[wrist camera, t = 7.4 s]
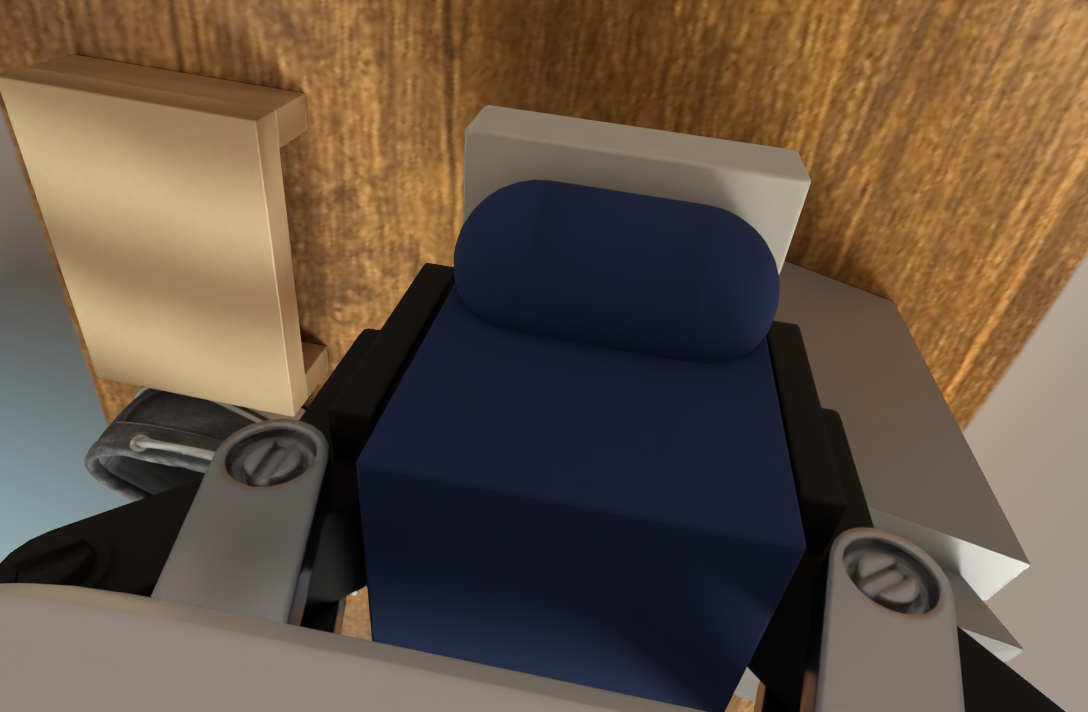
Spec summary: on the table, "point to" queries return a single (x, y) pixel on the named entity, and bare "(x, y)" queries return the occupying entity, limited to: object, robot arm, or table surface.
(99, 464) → the boat shoe
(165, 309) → the shoe shelf
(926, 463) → the perfume bottle
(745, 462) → the high-top sneaker
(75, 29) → the table surface
